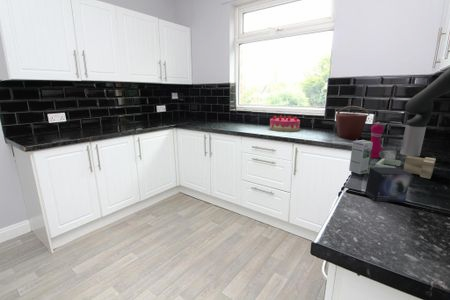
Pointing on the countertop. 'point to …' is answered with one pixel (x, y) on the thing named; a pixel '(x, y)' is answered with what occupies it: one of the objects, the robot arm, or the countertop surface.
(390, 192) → the small box
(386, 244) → the countertop surface
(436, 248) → the countertop surface
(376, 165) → the pocket
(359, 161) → the syrup box
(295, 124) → the cake
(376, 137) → the pepper mill
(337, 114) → the bucket
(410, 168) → the tee block
